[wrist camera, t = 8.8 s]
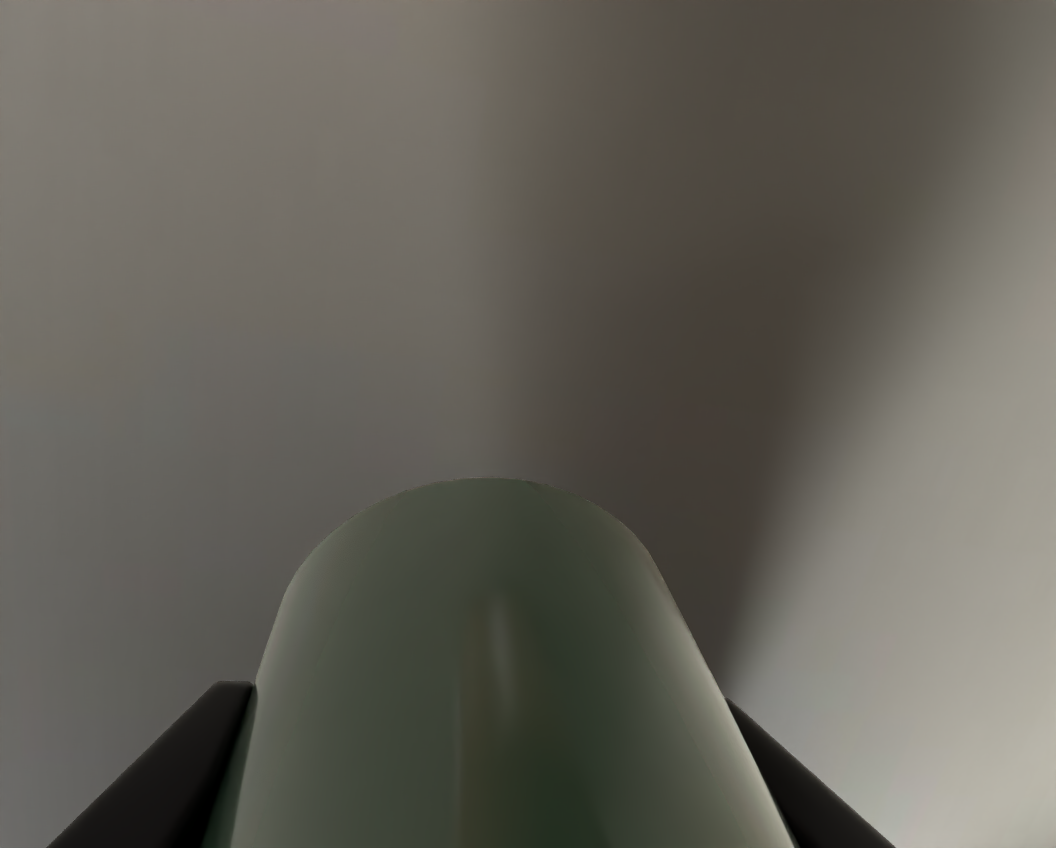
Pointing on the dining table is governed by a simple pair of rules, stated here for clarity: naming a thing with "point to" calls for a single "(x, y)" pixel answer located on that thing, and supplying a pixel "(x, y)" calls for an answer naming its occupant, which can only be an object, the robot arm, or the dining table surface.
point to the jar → (487, 691)
